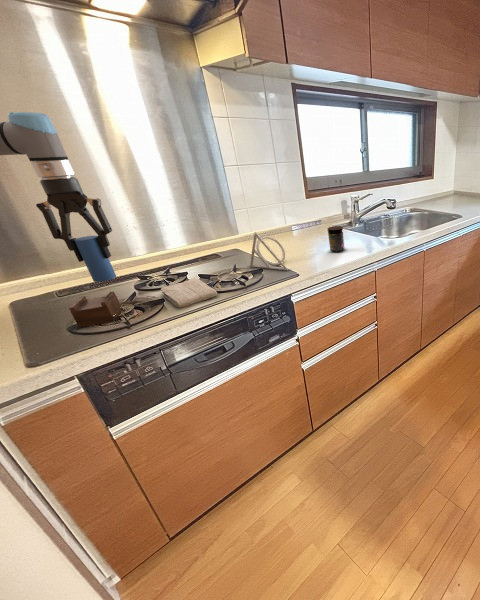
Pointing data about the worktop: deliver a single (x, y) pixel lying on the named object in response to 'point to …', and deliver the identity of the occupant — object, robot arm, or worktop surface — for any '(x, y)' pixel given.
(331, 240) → the supplement container
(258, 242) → the wire frame
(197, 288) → the washcloth
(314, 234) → the worktop surface
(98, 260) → the tube
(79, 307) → the cradle
